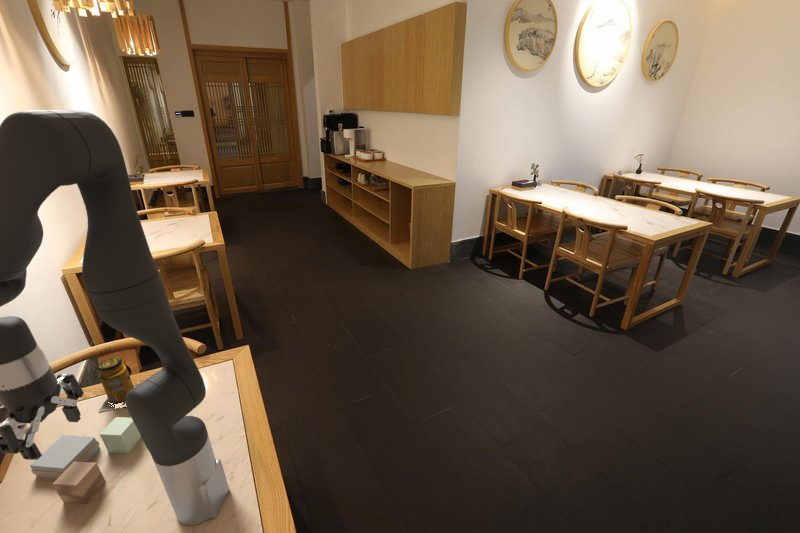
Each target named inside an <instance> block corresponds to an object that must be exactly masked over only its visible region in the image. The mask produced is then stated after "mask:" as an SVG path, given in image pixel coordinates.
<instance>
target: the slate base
mask: <svg viewBox="0 0 800 533" xmlns="http://www.w3.org/2000/svg"><path fill="white" fill-rule="evenodd" d="M100 449H101V448H100V443H99V441H98V440H96V438H95V436H85V435H84V436H83V435H71V434H62V435H61V436H60V437H59V438H57V439H56V440H55V442H54V443H52V444H51V445H49V447H48V448H47V449H45V451H44V452H43V453H41V454H42V456H41V457H40V458H39V459H38V460H33V461H32V463H31V464H29V467H30V468H31V470H30V472H31V473H32V474H33V475H35V476H36V477H38V478H48V479H49V478H50V479H56V480H57V479H58V478H59V477H60V476H61V475H62V473H63V472H64V471H65V470H66V469H67V468H68V467H69V466H70V465H71V464H72V463H73V462H88V461H89V460H90V459H91V458H92V457H93V456H94V455H95V454H96V453H97V452H98V451H100Z"/></svg>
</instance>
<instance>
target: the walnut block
mask: <svg viewBox="0 0 800 533" xmlns="http://www.w3.org/2000/svg"><path fill="white" fill-rule="evenodd" d="M105 483H106V479H105V477H104V475H103V473H102V471H101V470H100V467H99V465H98V463H97V462H92V461H89V462H88V461H87V462H73V463H72V464H71V465H70V466H69V467H68V468H67V469H66V470H65V471H64V472H63V473H62V475H61V476H60V477H59V478H58V479H57V478H56V480H55V481H54V482H53V483H52V486H53V487H54V490H55V491H56V493H57V495H58V496H59V497H60V499H61V501H62V502H63V504H76V505H77V504H79V505H88V504H89V502H90V501H91V499H93V497H94V496H95V494H97V492H98V491H99V490H100V489H101V487H102V486H103V485H104V484H105Z"/></svg>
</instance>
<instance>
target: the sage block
mask: <svg viewBox="0 0 800 533" xmlns="http://www.w3.org/2000/svg"><path fill="white" fill-rule="evenodd" d="M99 436H100V438H101V441H102V442H103V444H104V447H105V448H106V450H107V452H108V453H117V454H119V452H120V453H121V454H130V453H131V451H132V450H133V448H134V447H135V446H136V445H137V444H138V443H139V441H140V440H139V439H142V438H141V435H140V433H139V431H138V429H137V427H136V425H135V423H134V422H133V420H132V418H131V417H123V416H121V417H120V416H119V417H118V416H116V417H114V419H112V420H111V421H110V423H109V424H107V426H106V427H105V428H104V429H103V430H102V431H101V432H100V433H99Z"/></svg>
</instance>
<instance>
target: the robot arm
mask: <svg viewBox="0 0 800 533" xmlns="http://www.w3.org/2000/svg"><path fill="white" fill-rule="evenodd" d="M127 169H128V168H127V166H126V161H125V158H124V155H123V151H122V148H121V145H120V143H119V140H118V139H117V136H116V135H115V133H114V131H113V129H112V128H111V127H110V126H109V125H108V123H106V122H105V121H104V120H103V119H102V118H100V117H99V116H97V115H96V114H94V113H92V112H89V111H85V110H75V109H74V110H73V109H72V110H71V109H69V110H68V109H63V110H61V109H29V110H27V109H26V110H20V111H16V112H13V113H11V114H10V115H7V116H6V117H5V118H4V119H3V120H2V122H1V123H0V308H1V307H2V306H5V305H7V304H8V303H10V302H12V301H13V300H16V299H17V297H19V296H20V295H21V294H22V293H23V291H24V289H25V288H26V285H27V284H26V281H27V273H28V272H27V268H28V266H29V265H30V263H31V262H32V260H33V258H34V257H35V256H36V254H37V252H38V251H39V249H40V247H41V245H42V244H43V239H44V238H43V237H44V229H43V228H44V227H43V225H42V222H41V219H40V217H39V210H40V208H41V206H42V205H43V203H44V202H45V201H46V200H47V198H49V196H50V195H51V194H52V193H53V192H55V191H56V190H57V189H58V188H60V187H63V186H64V187H65V186H66V187H67V186H73V185H77V188H78V190H79V193H80V196H81V198H82V202H83V204H84V207H85V211H86V215H87V216H86V218H87V231H86V238H85V243H84V244H85V245H84V251H83V256H82V257H83V259H82V266H81V269H82V270H81V273H82V281H83V283H84V286H85V290H86V291H87V294H88V295H89V297H90V300H91V302H92V304H93V306H94V308H95V311H96V313H97V315H98V316H99V318H100V319H101V320H102V321H103V322H104V323H105V324H106V325H108V326H109V327H111V328H112V329H114V330H115V331H118V332H120V333H122V334H124V335H126V336H128V337H130V338H133V339H135V340H137V341H139V342H140V343H143V344H144V345H146V346H148V347H150V348H151V349H152V350H153V351H155V353H156V354H157V356H158V358H159V360H160V362H161V364H162V367H161V369H160V370H159V371H157V372H155V373H154V374H152V375H150V376H149V377H148V378H146V379H144V380H143V381H141V382H140V383H138V384H137V385H134V386H135V387H134V388H133V389H131V390H130V391H129V392H128V393H127V395H126V406H127V411H128V414H129V416H130V418H132V420H133V422H134V423H135V425H136V427H137V429H138V431H139V433H140V435H141V438H140V439H141V440H142V442H143V443H144V446H145V447H146V449H147V451H148V452H149V454H150V456H151V458H152V460H153V463H154V465H155V468H156V471H157V472H158V475H159V478H160V480H161V482H162V485H163V487H164V490H165V492H166V495H167V497H168V499H169V502H170V505H171V507H172V509H173V512H174V515H175V517H176V518H177V521H178V522H179V523H181V524H182V525H185V526H195V525H198V524H202V523H204V522H206V521H207V520H210V519H216V518H217V516H218V513H219V512H220V509H221V508H222V505H223V503H224V502H225V500H226V497H227V495H228V493H229V491H230V486H229V484H228V480H227V476H226V473H225V470H224V466H223V463H222V460H221V459H217V458H216V455H215V453H214V449H213V446H212V443H211V440H210V436H209V433H208V429H207V426H206V423H205V422H204V421H203V420H202V419H201V418H199V417H198V416H194V415H188V414H190V413H191V412H192V411H194V409H196V408H197V407H198V406H199V405H200V404H201V403H202V402H203V401H204V399H205V397H206V395H207V394H206V392H207V391H206V385H205V382H204V378H203V376H202V374H201V372H200V370H199V367H198V366H197V364H196V361H195V360H194V358H193V356H192V354H191V352H190V350H189V348H188V346H187V343H186V341H185V339H184V337H183V335H182V333H181V331H180V328H179V325H178V322H177V321H176V318H175V315H174V312H173V310H172V306H171V304H170V301H169V297H168V294H167V291H166V288H165V285H164V283H163V280H162V277H161V274H160V271H159V269H158V267H157V264H156V262H155V259H154V257H153V255H152V252H151V249H150V246H149V243H148V240H147V236H146V234H145V231H144V228H143V226H142V221H141V220H140V216H139V214H138V210H137V206H136V203H135V199H134V194H133V190H132V187H131V182H130V179H129V174H128V170H127ZM81 387H82V386H81V385H80V383H79V382H78V380H77V378H76V377H75V375H74V374H72V373H59V374H57V376H56V375H55V373H54V371H53V369H52V367H51V365H50V363H49V360H48V359H47V357H46V355H45V353H44V351H43V350H42V348H41V347H40V346H39V345H38V342H37V341H36V339H35V337H34V335H33V333H32V331H31V329H30V327H29V325H28V324H27V322H26V321H25V320H24V319H23V318H21V317H19V316H13V315H12V316H10V315H9V316H2V317H1V316H0V403H1V405H2V406H3V407H4V408H5V409H6V410H7V411H8V417H7V418H6V419H5V420H4V421H2V422H0V453H2V454H11V455H12V454H14V455H17V454H19V453H20V455H21V456H22V459H24V460H27V461H28V460H29V461H35V460H38V459H39V458H40V457H41V456H42V454H43V453H42V452H41V451H40V450H39V448H38V445H37V444H36V442H34V439H35V435H36V433H37V432H38V431H39V429H40V425H41V423H42V422H43V421H44V420H46V418H47V417H48V416H49V415H50V414H52V413H54V412H55V411H56V410H57V407H58V406H60V407H61V411H62V412H63V414H64V416H65V419H66V421H68V422H69V423H78V422H79V421H80V420H81V419H82V417H81V412H80V409H79V407H78V406H77V404H78V400H79V398H83V396H84V391H83V389H82V388H81ZM61 390H63V392H64V393H65V395H66V397H62V396H60V394H61ZM25 424H30V426H29V427H28V426H26V425H25Z"/></svg>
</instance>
